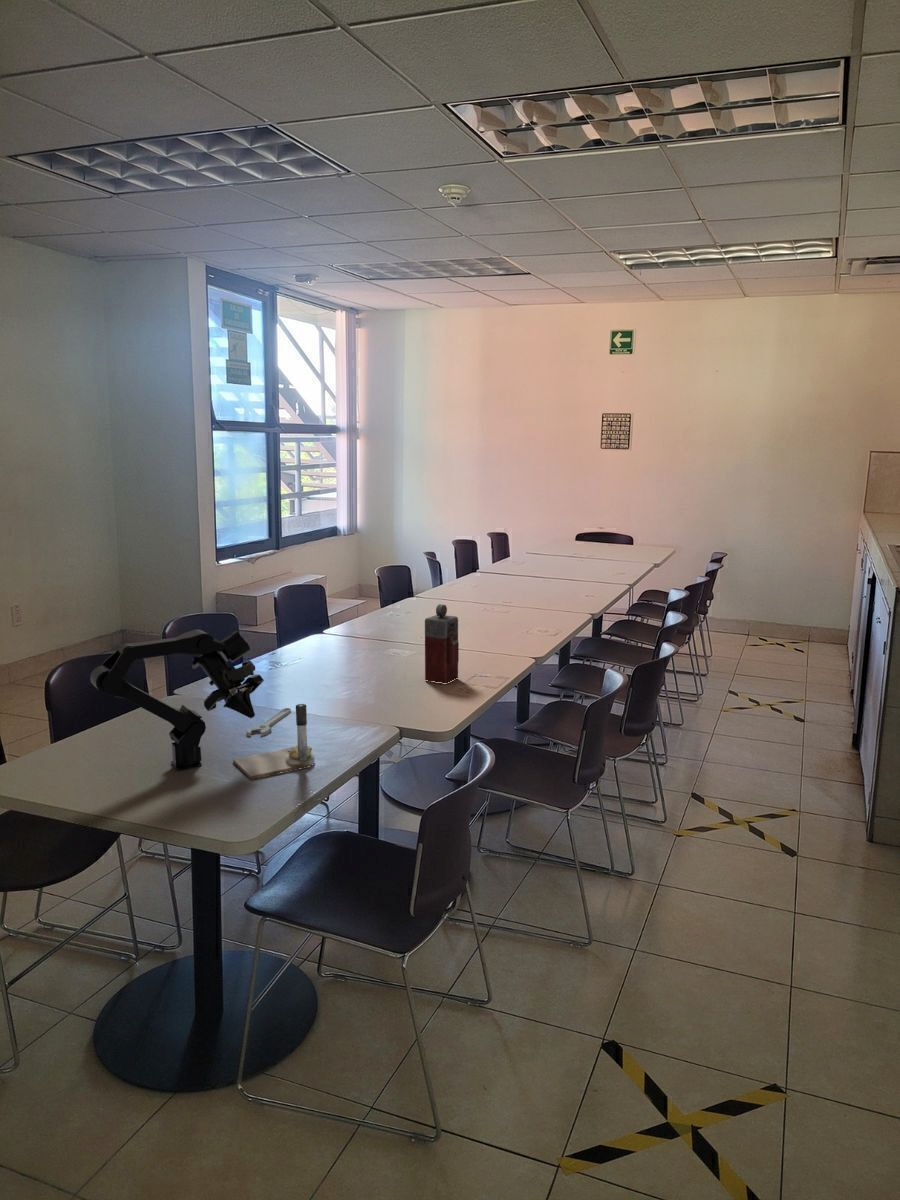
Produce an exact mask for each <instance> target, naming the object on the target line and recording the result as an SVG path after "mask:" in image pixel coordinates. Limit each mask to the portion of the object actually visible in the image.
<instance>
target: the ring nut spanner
mask: <svg viewBox="0 0 900 1200" xmlns="http://www.w3.org/2000/svg"><path fill="white" fill-rule="evenodd" d="M307 711H308V710H307V704H305V703H298V704H296V705H295V723H296V735H297V736H296V737H297V744H296V745H294V746H291V747H288V748H289V750H288V752H289V758H291V759H299V760H300V761H301V760H307V758H309V757H310V756H311V753H312V750H313V748H312V746H311V747H310V746H308V735H307V733H308V731H307V730H308V729H307V724H308V719H307V718H308V717H307V715H308V714H307Z"/></svg>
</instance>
